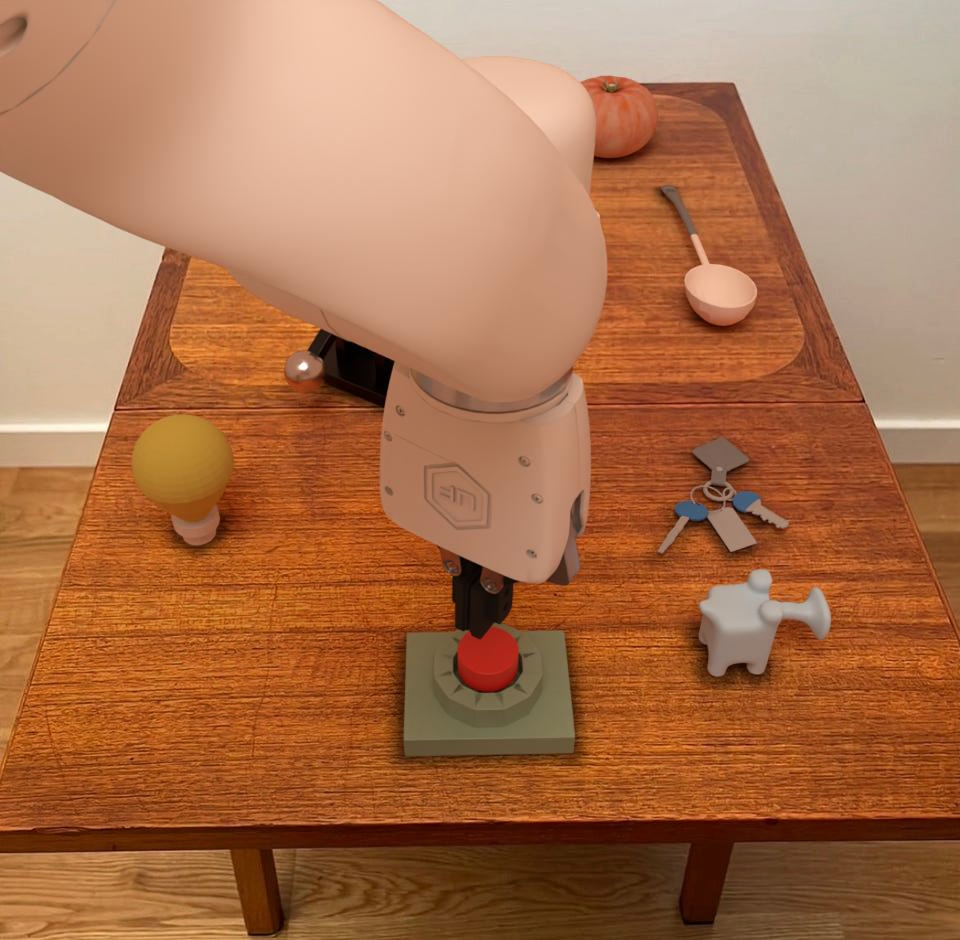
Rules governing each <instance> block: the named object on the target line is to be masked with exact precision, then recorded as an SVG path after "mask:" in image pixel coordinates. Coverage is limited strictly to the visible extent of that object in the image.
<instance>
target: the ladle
mask: <svg viewBox="0 0 960 940" xmlns="http://www.w3.org/2000/svg"><path fill="white" fill-rule="evenodd" d="M660 190H661V192H662V193H663V194H664V195H665V197H666V198H667V199H668V200H669V201H670V203H672V204H673V205H674V207H675V209H676V211H677V213H678V215H679V216H680V219H681V220H682V222H683V225H684V227H685V229H686V232H687V234H688V236H689V238H690V241H691V242H692V244H693V247H694V250H695V252H696V255H697V257H698V259H699V262H700V265H697V266H695V267H692V268H691V269H689V270H688V271H687V272H686V274H685V276H684V279H683V281H684V282H683V283H684V291H685V295H686V298H687V300H688V303H689V305H690V307H691V308H692V310H693V311H694V312H695V313H696V314H697V315H698V316H699V317H700V318H701V319H703V320H704V321H705V322H708V323H709V324H712V325H715V326H723V327H726V326H732V325H734V324H737V323H738V322H741V321H742V320H744V319H745V318H746V317H747V316H748V315H749V313H750V312H751V311H752V309H753V308H754V307H755V303H756V300H757V296H758V288H757V286H756V283H755V282H754V281H753V279H751V278H750V276H748V275H747V274H745V273H744V272H743V271H741V270H739V269H736V268H734V267H731V266H728V265H723V264H719V263H718V264H717V263H710V261H709V259H708V256H707V254H706V252H705V248H704V247H703V244H702V242H701V240H700V238H699V234H698V231H697V228H696V227H695V224H694V222H693V220H692V218H691V215H690V213H689V211H688V209H687V208H686V206H685V204H684V202H683V200H682V197H681V195H680V194H679V191H678V190H677V188H675V186H674V185H672V184H665V185H662V186H661V187H660Z"/></svg>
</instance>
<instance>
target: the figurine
mask: <svg viewBox="0 0 960 940" xmlns="http://www.w3.org/2000/svg"><path fill="white" fill-rule="evenodd" d="M772 585H773V578H772V575H771V572H770V571H769V570H768V569H765V568H759V569H758V568H757V569H754V570H752V571H751V572H750V573H749V575H748V579H747V581H745V582H741V583H736V584H720V585H715V586H712V587H711V588H710V589H709V590H708V592H707V594H706V595H707V596H706V599H704V600H703V599H702V600H701V601H700V602H699V603H698V608H699V611H700V612H701V614H702V617H701V621H700V625H699V626H700V627H699V631H698V640H699V642H700V643H701V644H702V645H705V646H706V647H707V651H708V661H707V666H706V669H707V672H708V674H710V675H711V676H712V677H716V678H718V677H723V676H724V675H725V674H726V671H727V669H728V668H729V667H730V666H732V665H735V664H746V669H747V671H748V672H749V673H750V674H752V675H762V674H764V673H765V671H766V668H767V665H768V660H769V657H770V654H771V651H772V649H773V648H772V647H773V645H774V641H775V637H776V634H777V631H778V628H779V625H780V624H781V623H782V620H793V621H798V622H801V623H803V624H805V625H806V626H807V627H808V628H809V629H810V631H811V633H812V635H813V636H814V638H815V639H817V640H818V641H822V640H824V639H825V638H826V637H827V636H828V635H829V632H830V629H831V625H832V615H831V610H830V607H829V604H828V601H827V599H826V595H824V592H823V591H822V590H821V588H820V587H817V586H815V587H812V588H811V589H810V590H809V591H808V594H807V597H806V600H805V601H803V602H793V601H792V602H791V601H778V600H776V599H771V598H770V591H771V586H772Z"/></svg>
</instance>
